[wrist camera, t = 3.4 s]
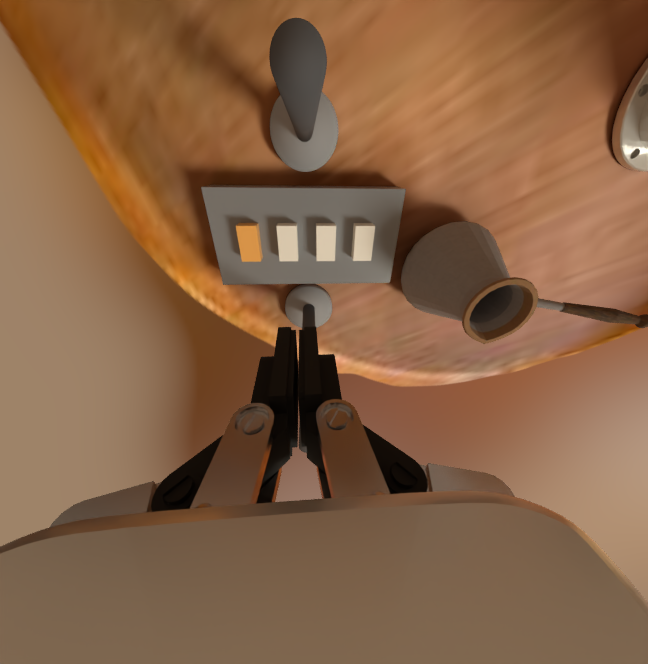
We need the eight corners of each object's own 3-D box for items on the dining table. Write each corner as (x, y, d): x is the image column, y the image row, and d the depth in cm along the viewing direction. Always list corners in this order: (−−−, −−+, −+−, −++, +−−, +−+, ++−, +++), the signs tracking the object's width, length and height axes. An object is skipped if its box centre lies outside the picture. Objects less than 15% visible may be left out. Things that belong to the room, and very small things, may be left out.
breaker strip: (396, 186, 28) (410, 190, 24) (383, 273, 33) (393, 287, 30) (210, 184, 27) (195, 188, 23) (229, 275, 32) (219, 289, 29)
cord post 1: (338, 88, 23) (440, -145, 5) (335, 171, 27) (391, 192, 9) (267, 86, 23) (133, -172, 5) (274, 171, 26) (209, 190, 9)
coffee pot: (386, 301, 36) (429, 376, 23) (406, 213, 29) (479, 252, 17) (526, 305, 37) (635, 377, 25) (574, 223, 31) (751, 264, 19)
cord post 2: (332, 283, 34) (359, 415, 16) (330, 323, 37) (352, 468, 20) (284, 283, 33) (258, 419, 16) (287, 324, 37) (269, 472, 19)
